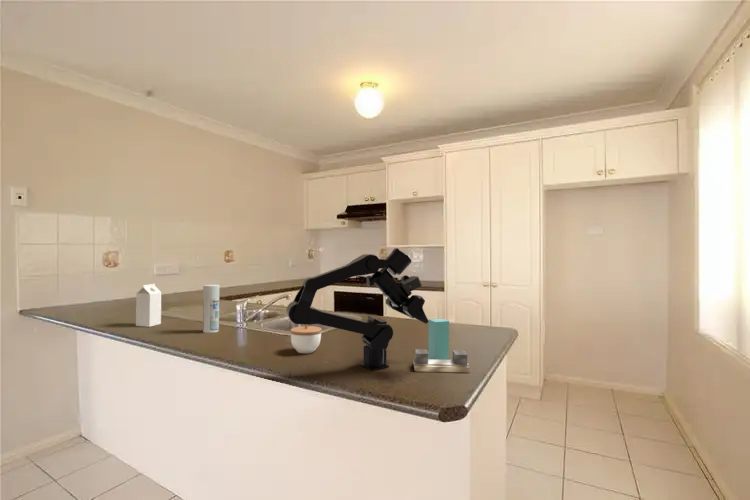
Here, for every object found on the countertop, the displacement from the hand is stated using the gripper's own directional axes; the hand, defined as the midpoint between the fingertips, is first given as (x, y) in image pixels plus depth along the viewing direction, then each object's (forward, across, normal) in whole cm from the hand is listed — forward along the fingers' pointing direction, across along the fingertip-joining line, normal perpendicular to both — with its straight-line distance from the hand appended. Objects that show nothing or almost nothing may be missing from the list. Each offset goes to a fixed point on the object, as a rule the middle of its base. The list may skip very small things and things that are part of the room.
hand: (420, 319), depth 118 cm
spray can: (-37, +67, +57) cm, 96 cm away
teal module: (+14, 0, +5) cm, 15 cm away
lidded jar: (-13, +24, +33) cm, 43 cm away
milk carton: (-57, +90, +77) cm, 131 cm away
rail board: (+12, -8, +7) cm, 16 cm away
